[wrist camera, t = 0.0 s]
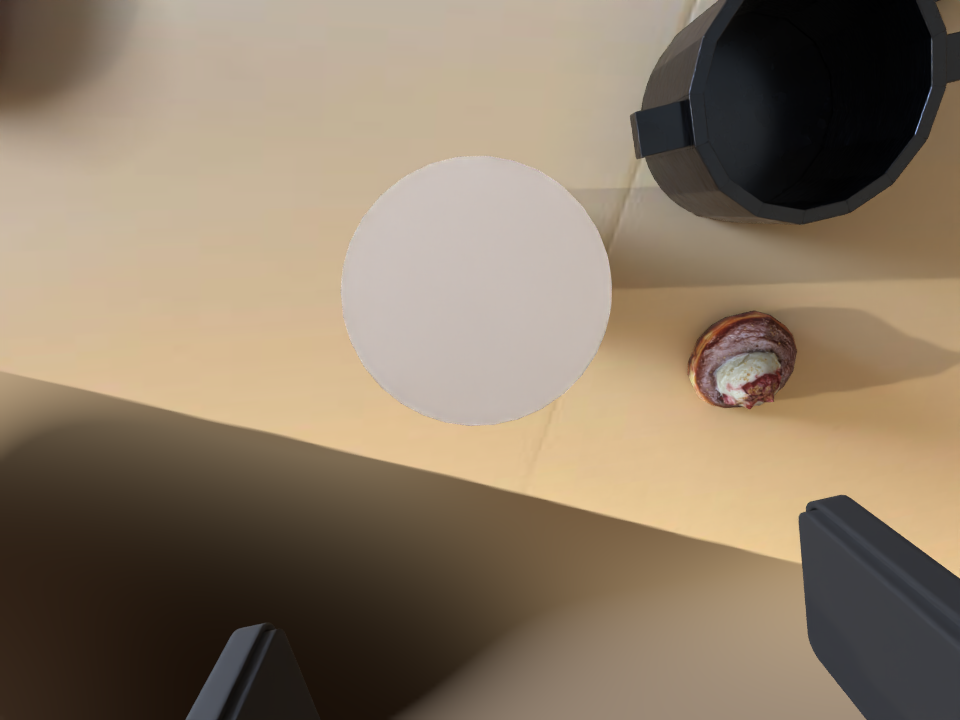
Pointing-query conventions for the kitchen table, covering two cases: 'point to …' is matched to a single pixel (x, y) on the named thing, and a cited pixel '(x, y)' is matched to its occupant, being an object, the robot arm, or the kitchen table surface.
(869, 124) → the pot
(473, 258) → the cylindrical container
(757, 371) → the pastry
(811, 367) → the kitchen table surface
